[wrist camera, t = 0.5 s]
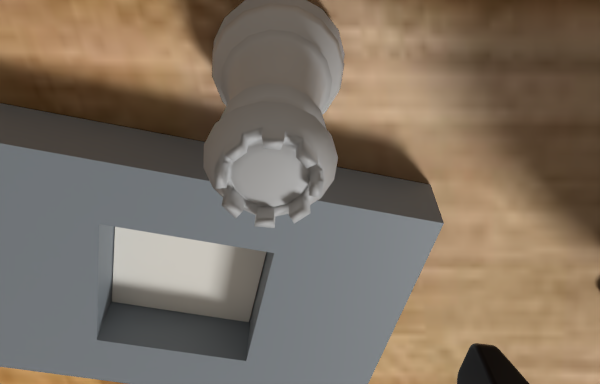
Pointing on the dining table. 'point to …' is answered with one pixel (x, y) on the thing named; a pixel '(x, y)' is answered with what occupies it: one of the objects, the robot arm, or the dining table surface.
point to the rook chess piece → (274, 108)
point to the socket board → (191, 263)
